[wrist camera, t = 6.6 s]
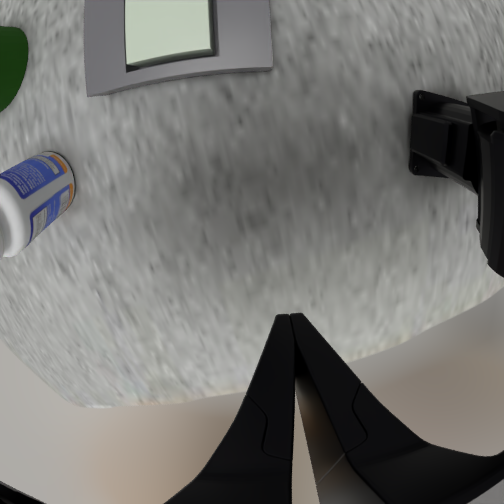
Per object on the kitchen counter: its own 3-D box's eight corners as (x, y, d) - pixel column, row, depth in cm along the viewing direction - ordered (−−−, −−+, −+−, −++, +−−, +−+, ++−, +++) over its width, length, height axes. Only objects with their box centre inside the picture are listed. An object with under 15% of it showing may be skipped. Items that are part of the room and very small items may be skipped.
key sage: (211, -8, 11) (207, -21, 9) (214, 54, 13) (210, 48, 11) (139, 6, 11) (125, -4, 9) (141, 67, 13) (126, 64, 11)
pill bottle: (23, 162, 17) (-58, 212, 8) (65, 140, 16) (-27, 186, 8) (42, 218, 19) (-25, 284, 11) (85, 204, 19) (12, 277, 11)
